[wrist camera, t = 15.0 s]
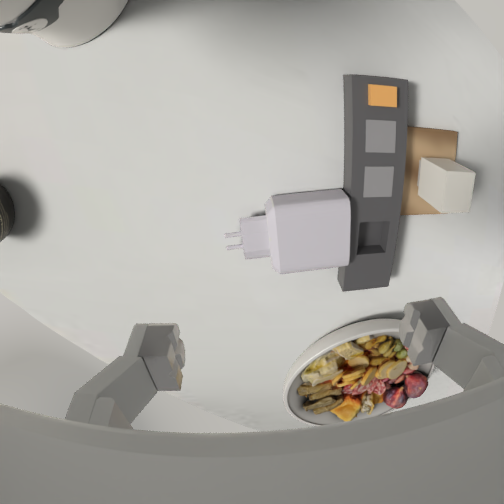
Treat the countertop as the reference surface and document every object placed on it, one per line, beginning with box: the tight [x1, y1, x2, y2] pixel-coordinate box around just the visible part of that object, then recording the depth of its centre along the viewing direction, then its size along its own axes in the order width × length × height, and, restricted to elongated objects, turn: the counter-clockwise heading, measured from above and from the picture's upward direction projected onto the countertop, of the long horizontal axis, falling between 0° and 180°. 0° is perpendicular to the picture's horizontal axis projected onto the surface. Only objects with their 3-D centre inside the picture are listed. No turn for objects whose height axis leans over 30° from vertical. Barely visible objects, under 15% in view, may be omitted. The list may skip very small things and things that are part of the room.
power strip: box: [338, 74, 408, 291], centre depth 37 cm, size 28×7×4 cm, turn 4°
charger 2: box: [417, 157, 476, 213], centre depth 33 cm, size 5×4×8 cm
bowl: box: [283, 319, 435, 426], centre depth 53 cm, size 30×30×8 cm
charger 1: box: [224, 189, 351, 274], centre depth 39 cm, size 5×9×15 cm
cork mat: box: [400, 126, 458, 215], centre depth 37 cm, size 12×9×1 cm
